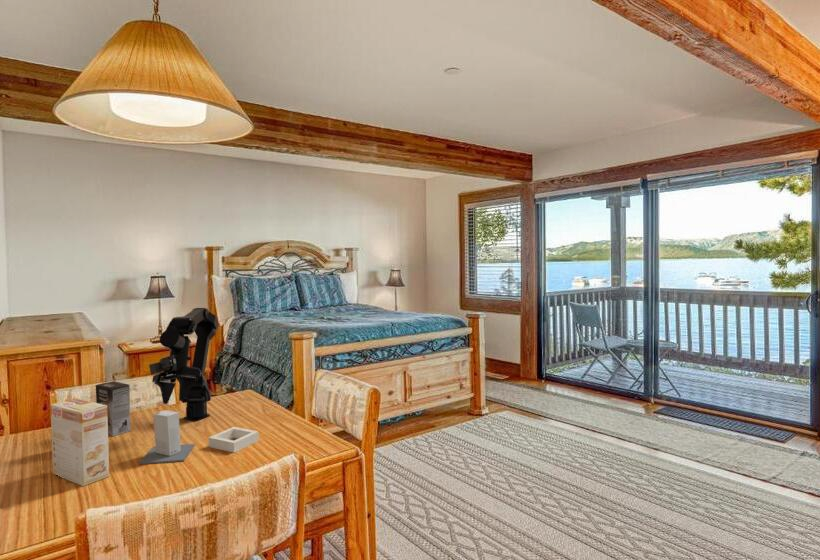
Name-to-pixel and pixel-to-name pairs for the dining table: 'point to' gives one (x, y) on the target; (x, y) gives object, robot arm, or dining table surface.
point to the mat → (160, 458)
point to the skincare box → (167, 432)
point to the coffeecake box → (80, 441)
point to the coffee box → (115, 405)
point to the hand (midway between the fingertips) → (173, 402)
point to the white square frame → (242, 441)
